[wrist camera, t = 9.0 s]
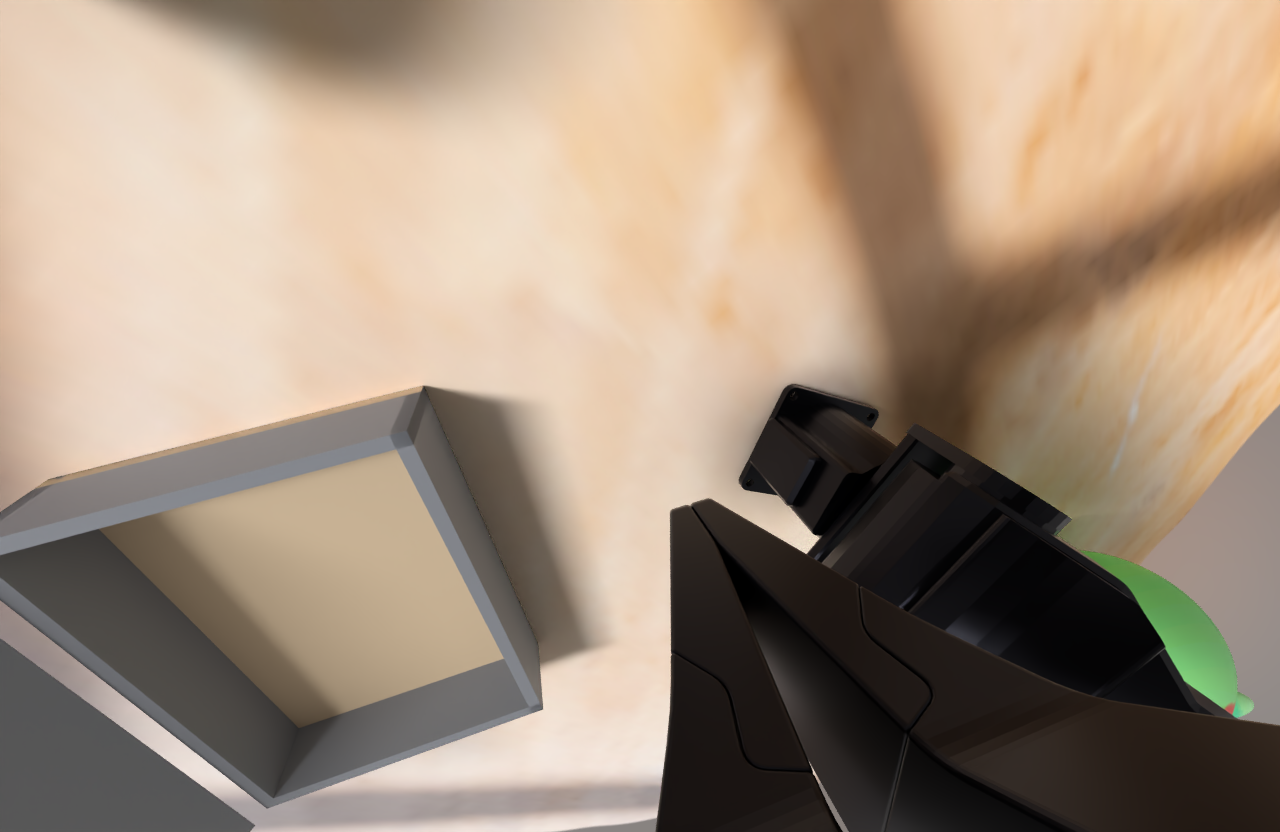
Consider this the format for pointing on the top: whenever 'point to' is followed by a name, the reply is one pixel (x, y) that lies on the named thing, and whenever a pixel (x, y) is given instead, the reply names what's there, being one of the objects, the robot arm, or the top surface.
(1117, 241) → the top surface
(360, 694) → the box
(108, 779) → the mailer lid
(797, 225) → the top surface
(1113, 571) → the toy bird
